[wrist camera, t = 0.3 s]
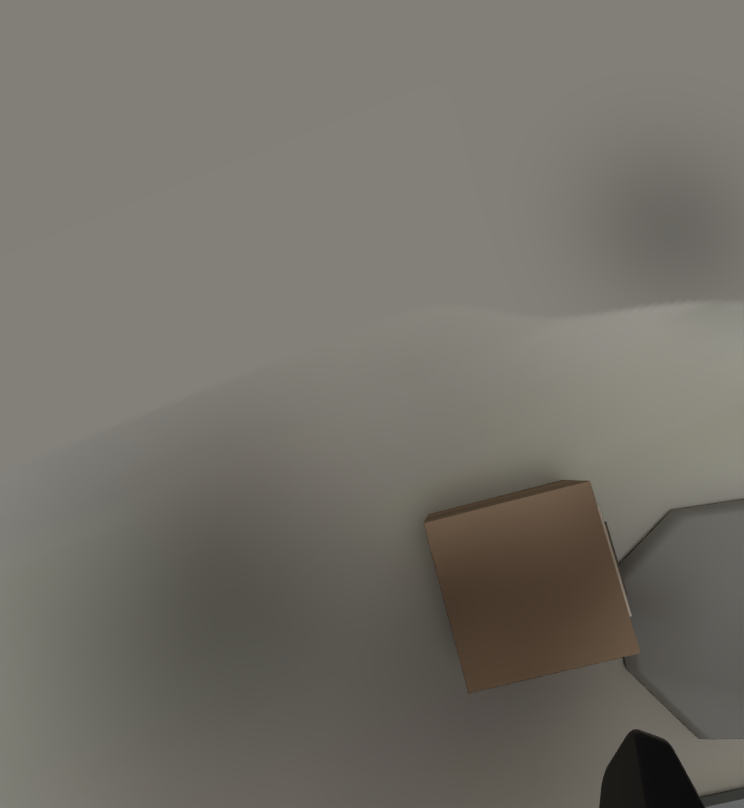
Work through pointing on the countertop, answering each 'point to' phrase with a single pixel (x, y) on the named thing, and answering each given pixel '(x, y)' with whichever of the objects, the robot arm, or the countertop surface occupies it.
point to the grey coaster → (725, 799)
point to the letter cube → (531, 584)
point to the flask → (692, 616)
